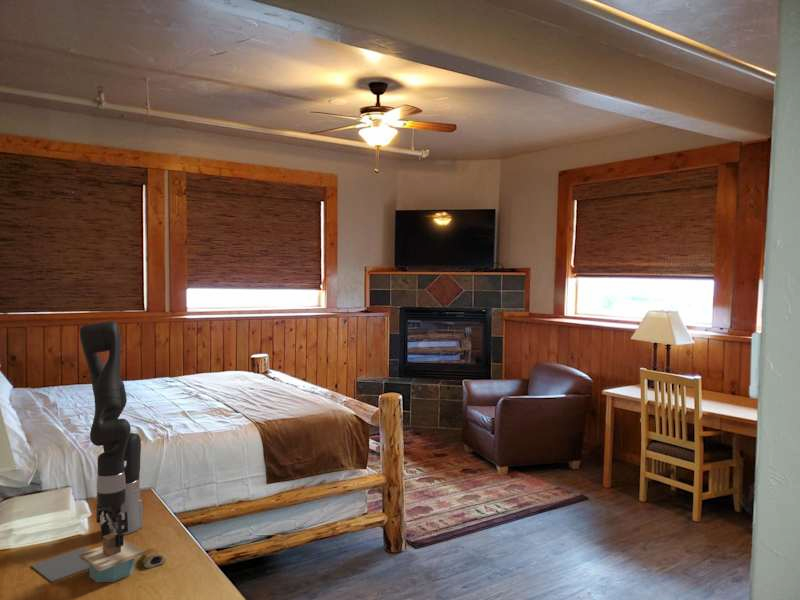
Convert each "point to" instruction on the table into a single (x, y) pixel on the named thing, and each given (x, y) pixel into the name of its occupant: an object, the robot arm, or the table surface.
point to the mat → (62, 565)
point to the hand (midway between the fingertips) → (112, 542)
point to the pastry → (153, 558)
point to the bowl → (112, 572)
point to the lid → (110, 553)
